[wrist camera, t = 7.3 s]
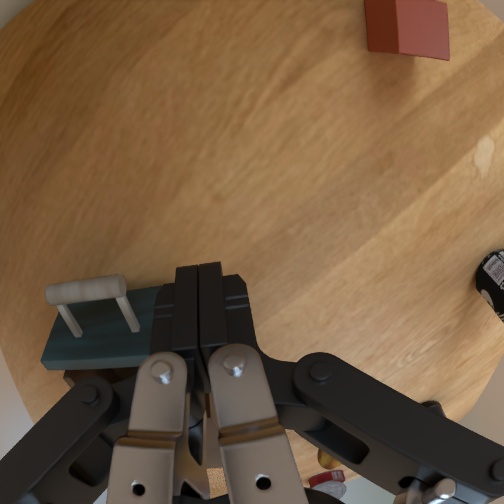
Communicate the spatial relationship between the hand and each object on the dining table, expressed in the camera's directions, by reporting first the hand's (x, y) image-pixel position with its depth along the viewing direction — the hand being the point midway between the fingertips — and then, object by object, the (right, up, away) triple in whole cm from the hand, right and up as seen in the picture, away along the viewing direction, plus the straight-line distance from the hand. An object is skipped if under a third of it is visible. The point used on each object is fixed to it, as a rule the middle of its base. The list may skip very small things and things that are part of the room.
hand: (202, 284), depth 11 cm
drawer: (-9, -6, +17) cm, 20 cm away
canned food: (+22, -60, +61) cm, 89 cm away
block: (+12, +17, +6) cm, 22 cm away
